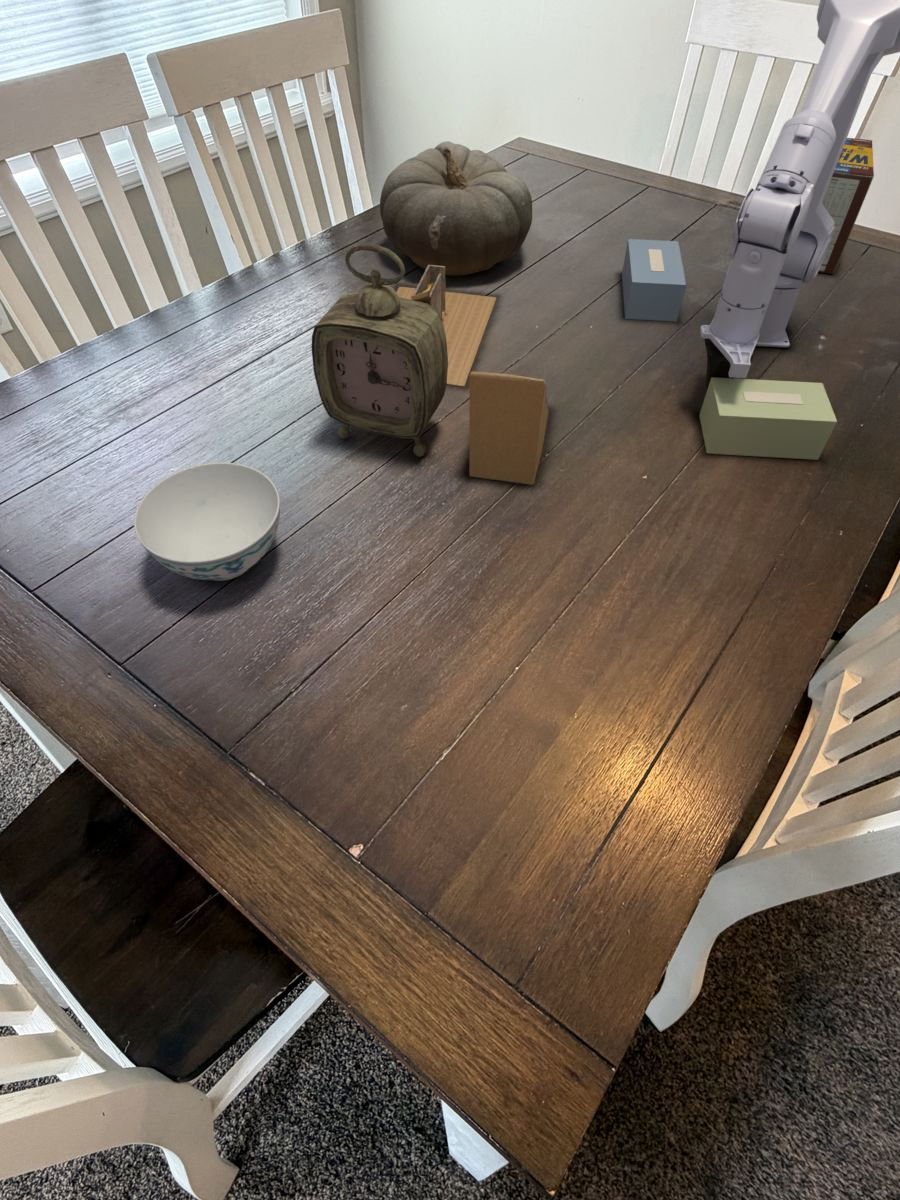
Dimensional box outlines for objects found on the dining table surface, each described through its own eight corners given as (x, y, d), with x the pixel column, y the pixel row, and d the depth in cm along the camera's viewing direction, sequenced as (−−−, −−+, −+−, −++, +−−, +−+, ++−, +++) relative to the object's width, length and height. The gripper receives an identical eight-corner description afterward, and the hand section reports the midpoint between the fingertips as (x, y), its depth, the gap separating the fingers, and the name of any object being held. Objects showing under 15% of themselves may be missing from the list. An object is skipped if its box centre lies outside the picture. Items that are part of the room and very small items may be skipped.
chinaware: (228, 631, 76) (209, 583, 70) (128, 574, 81) (102, 525, 75) (318, 543, 84) (308, 493, 78) (222, 496, 89) (205, 445, 83)
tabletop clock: (325, 442, 95) (293, 251, 76) (354, 403, 101) (331, 215, 81) (428, 467, 92) (422, 274, 73) (453, 425, 98) (453, 235, 78)
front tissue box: (699, 415, 99) (711, 376, 94) (805, 421, 98) (823, 381, 93) (706, 453, 94) (720, 414, 89) (818, 460, 93) (838, 420, 88)
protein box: (835, 235, 132) (873, 139, 120) (833, 275, 123) (875, 176, 110) (774, 227, 134) (806, 131, 122) (769, 266, 125) (803, 167, 113)
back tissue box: (621, 274, 123) (628, 237, 118) (669, 277, 122) (678, 240, 118) (624, 319, 114) (632, 280, 109) (676, 321, 114) (686, 283, 109)
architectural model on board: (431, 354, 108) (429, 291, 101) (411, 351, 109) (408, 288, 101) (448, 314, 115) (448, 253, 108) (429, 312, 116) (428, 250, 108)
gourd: (441, 193, 137) (447, 93, 122) (551, 251, 131) (572, 154, 116) (355, 258, 127) (349, 157, 112) (470, 324, 121) (481, 228, 106)
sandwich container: (551, 411, 100) (563, 307, 88) (535, 485, 90) (547, 381, 78) (489, 403, 101) (493, 300, 89) (467, 476, 91) (469, 371, 80)
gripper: (704, 266, 92) (678, 361, 103) (718, 327, 83) (688, 425, 94) (761, 268, 92) (730, 364, 102) (781, 331, 82) (744, 428, 93)
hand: (713, 393), depth 98 cm, fingers closed
